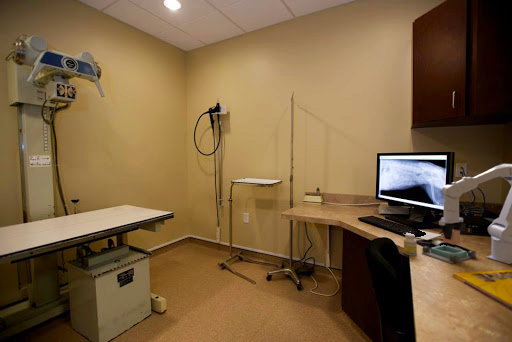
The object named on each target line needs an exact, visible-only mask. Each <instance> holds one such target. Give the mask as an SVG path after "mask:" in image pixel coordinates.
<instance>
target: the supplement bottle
mask: <svg viewBox="0 0 512 342" xmlns="http://www.w3.org/2000/svg"><path fill="white" fill-rule="evenodd" d="M405 233H406V234H404V235H405V236H404V238H403V253H404V254H406V255H408V256H417V254H418V253H417V252H418V249H417V239H416V237H415V235H414V234H411V233H408V232H405Z"/></svg>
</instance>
